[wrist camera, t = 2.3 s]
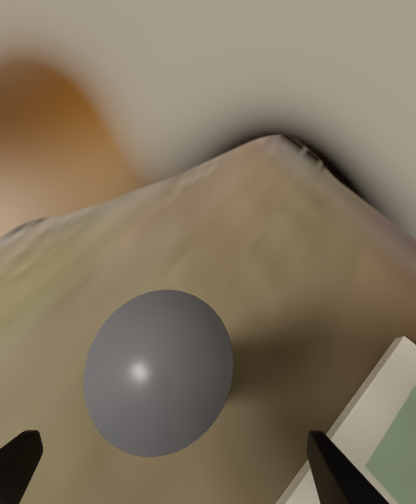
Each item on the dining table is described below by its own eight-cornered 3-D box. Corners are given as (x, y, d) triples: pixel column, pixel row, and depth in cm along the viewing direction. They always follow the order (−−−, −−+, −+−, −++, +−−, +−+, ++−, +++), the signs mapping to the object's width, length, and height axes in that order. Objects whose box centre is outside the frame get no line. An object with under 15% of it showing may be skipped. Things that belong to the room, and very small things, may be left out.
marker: (190, 423, 15) (132, 510, 4) (160, 376, 17) (59, 349, 6) (229, 383, 16) (264, 369, 5) (198, 343, 18) (176, 267, 7)
